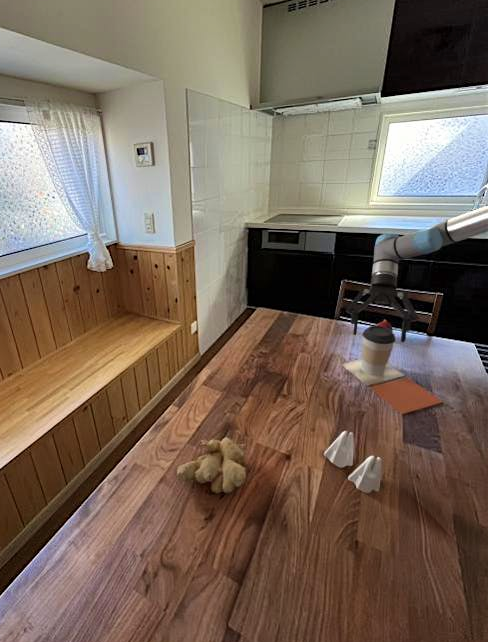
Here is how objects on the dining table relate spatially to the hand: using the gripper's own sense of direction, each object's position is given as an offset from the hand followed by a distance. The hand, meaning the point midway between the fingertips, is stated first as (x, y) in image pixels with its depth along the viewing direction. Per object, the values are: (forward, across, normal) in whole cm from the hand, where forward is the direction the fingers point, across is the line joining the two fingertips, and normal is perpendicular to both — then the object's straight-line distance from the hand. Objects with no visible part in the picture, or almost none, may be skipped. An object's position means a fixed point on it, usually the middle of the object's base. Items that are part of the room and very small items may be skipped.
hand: (378, 337), depth 107 cm
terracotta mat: (+16, -8, 0) cm, 18 cm away
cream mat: (+10, 0, -7) cm, 12 cm away
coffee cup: (+9, 0, -7) cm, 12 cm away
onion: (-7, -4, -23) cm, 25 cm away
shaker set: (+41, +6, +24) cm, 48 cm away
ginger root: (+48, +33, +32) cm, 67 cm away
